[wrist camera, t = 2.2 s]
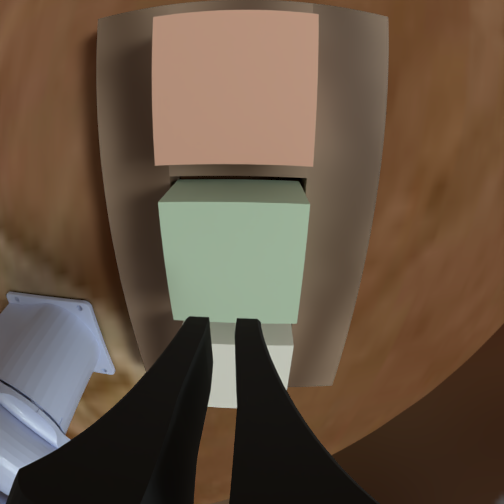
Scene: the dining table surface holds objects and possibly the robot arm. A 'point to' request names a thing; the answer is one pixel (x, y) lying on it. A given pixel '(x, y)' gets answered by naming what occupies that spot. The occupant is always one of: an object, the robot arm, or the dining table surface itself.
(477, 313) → the dining table surface
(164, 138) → the terracotta button
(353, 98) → the brown tray
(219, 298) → the sage button
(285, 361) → the cream button
